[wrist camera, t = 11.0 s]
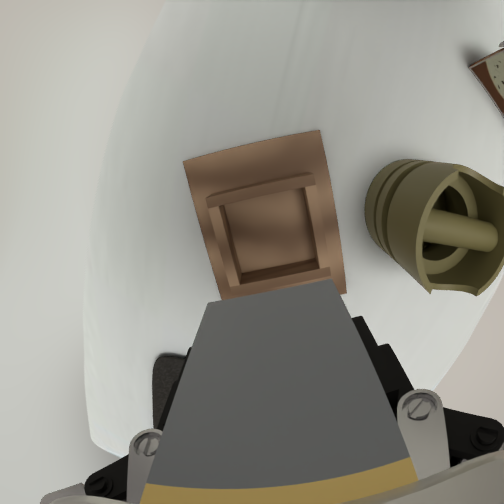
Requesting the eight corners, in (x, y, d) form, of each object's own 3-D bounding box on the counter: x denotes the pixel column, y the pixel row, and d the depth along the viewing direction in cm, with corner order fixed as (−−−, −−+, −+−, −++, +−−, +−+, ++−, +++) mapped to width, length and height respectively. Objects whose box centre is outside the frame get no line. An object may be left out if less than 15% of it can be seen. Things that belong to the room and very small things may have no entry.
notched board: (184, 161, 29) (174, 162, 25) (318, 130, 27) (325, 127, 24) (228, 313, 34) (224, 331, 31) (345, 290, 33) (353, 305, 29)
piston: (491, 304, 20) (398, 301, 20) (435, 260, 31) (356, 250, 31) (522, 185, 16) (430, 150, 16) (453, 171, 27) (372, 149, 28)
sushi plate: (156, 343, 37) (147, 360, 33) (362, 379, 38) (368, 397, 34) (157, 447, 46) (152, 461, 43) (301, 470, 47) (302, 485, 44)
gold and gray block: (208, 302, 12) (134, 521, 3) (331, 278, 11) (424, 499, 3) (239, 389, 13) (219, 563, 5) (341, 371, 13) (385, 546, 4)
